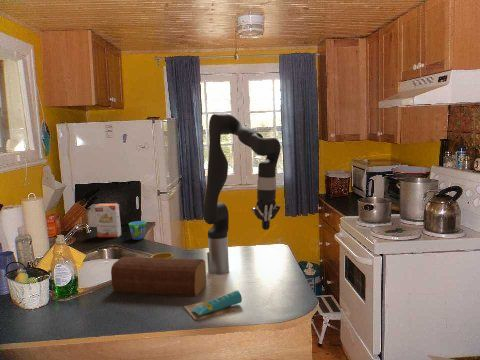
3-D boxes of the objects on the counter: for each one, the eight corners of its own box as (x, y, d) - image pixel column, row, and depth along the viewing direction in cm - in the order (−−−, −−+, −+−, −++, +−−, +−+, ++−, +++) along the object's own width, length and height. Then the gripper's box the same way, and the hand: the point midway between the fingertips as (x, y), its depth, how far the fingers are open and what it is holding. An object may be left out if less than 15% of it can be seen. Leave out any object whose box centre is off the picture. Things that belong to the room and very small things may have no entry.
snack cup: (132, 235, 292) (131, 220, 290) (149, 234, 292) (147, 219, 290) (127, 242, 276) (125, 226, 275) (144, 241, 276) (143, 225, 275)
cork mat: (195, 320, 166) (195, 319, 166) (183, 307, 178) (183, 306, 178) (234, 310, 173) (234, 309, 173) (221, 299, 185) (221, 297, 185)
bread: (128, 280, 211) (125, 252, 209) (207, 284, 202) (206, 255, 200) (111, 293, 196) (108, 263, 194) (196, 298, 187) (194, 267, 185)
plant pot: (151, 273, 219) (149, 254, 217) (172, 270, 222) (171, 251, 220) (154, 280, 209) (152, 260, 208) (176, 277, 212) (174, 257, 211)
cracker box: (97, 237, 291) (94, 205, 288) (101, 235, 297) (98, 203, 294) (117, 237, 288) (114, 205, 285) (121, 235, 294) (119, 203, 291)
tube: (242, 291, 175) (197, 308, 166) (244, 304, 175) (199, 321, 166) (233, 288, 181) (189, 304, 173) (236, 300, 182) (192, 316, 173)
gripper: (275, 185, 189) (274, 225, 192) (247, 187, 183) (247, 229, 185) (285, 187, 182) (284, 229, 185) (257, 190, 176) (256, 233, 179)
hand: (265, 229), depth 185 cm, fingers closed
